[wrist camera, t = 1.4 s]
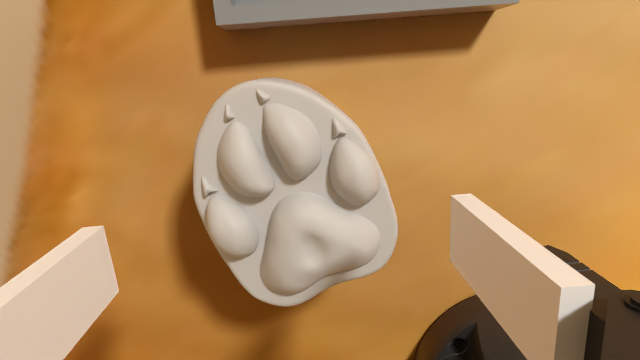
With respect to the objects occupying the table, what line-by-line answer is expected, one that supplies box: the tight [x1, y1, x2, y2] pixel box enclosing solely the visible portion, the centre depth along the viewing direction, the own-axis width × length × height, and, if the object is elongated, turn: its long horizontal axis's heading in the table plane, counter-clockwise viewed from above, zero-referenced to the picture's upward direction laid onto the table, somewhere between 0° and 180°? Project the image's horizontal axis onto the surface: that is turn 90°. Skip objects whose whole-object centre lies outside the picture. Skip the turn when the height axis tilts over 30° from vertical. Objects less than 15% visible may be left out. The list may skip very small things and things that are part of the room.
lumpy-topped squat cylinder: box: [193, 78, 398, 307], centre depth 25 cm, size 10×13×9 cm
